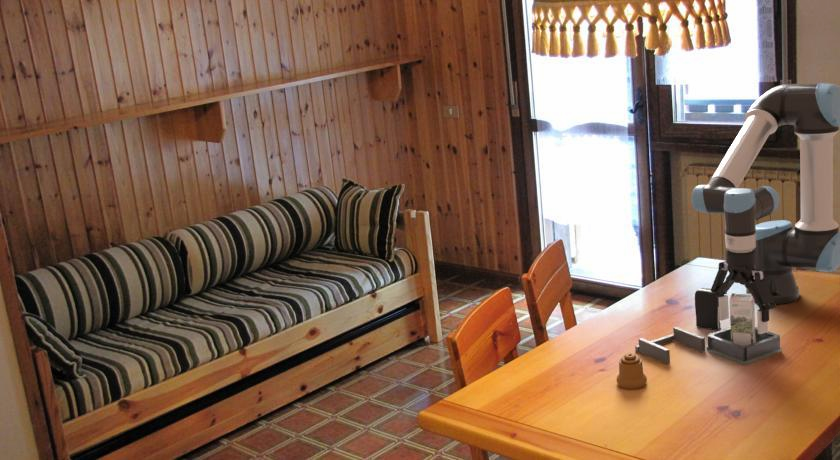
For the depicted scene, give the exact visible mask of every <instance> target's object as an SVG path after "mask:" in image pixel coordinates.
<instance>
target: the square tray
mask: <svg viewBox="0 0 840 460" xmlns="http://www.w3.org/2000/svg"><path fill="white" fill-rule="evenodd" d="M755 336H756V342H755V343H753V344H750V345H747V346H744V347H743V346H740V345H738V344H735V343H732V342H731V326H729V327H726V328H723V329H719V330H716V331H713V332H711V333H709V334H708V335H707V346H705V350H706V351H707V352H710V353H711V354H714V355H717V356H719V357H720V358H721V357H722V358H724V359H726V360H728V361H730V362H731V361H732V362H733V363H734V362H735V363H736V364H739V365H741V366H746V365H749V364H752V363H755V362H757V361H760V360H763V359H766V358H768V357H771V356H775V355H777V354H780V353H782V352H783V348H782V347H781V335H780V334H777V333H775V332H771V331H769V330H768V332H765V333H762V334H758V326H755Z"/></svg>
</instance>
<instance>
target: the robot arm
mask: <svg viewBox="0 0 840 460" xmlns="http://www.w3.org/2000/svg"><path fill="white" fill-rule="evenodd" d="M784 125H788V126H789V125H790V126H793V128H794V129H793V130H794V132H793V133H794V134H795V135H796V136H797V137H799V145H800V146H799V153H800V155H799V157H800V159H799V161H800V162H799V163H800V164H799V165H800V169H799V170H800V173H799V174H800V177H799V178H800V183H799V184H800V185H799V186H800V192H799V193H800V219H799V220H798V221H797V222H796V223H795V225H794V226H793V223H792V221H789V220H786V219H780V220H769V221H764V222H761V223H758V224H756V221H758V220H761V219H763V218H766V217H768V216H770V215H771V214H772V213H774V212H775V211H777V209H778V208H779V206H780V202H781V200H780V198H781V197H780V195H779V193H778V192H777V190H776V189H774V188H773V187H772V186H768V185H764V186H758V187H756V188H749V187H748V188H747V187H746V188H745V187H740V186H741V184H742V182H743V180H744V179H745V178H746V175H747V174H748V172H749V170H750V169H751V166H752V165H753V164H754V161H755V159H757V157H758V155H759V153H760V151H761V150H762V148H763V146H764V145H765V143H766V142H767V139H768V138H769V136H770V135H772V134H774V133H776V131H777V129H778V128H779V127H781V126H784ZM839 132H840V85H837V84H835V83H826V82H825V83H824V82H817V83H816V82H815V83H809V82H808V83H783V84H780V85H776V86H775V87H772V88H770V89H769V90H767V91H766V92H764V93H763V94H761V95H760V96H759V97H758V98H757V99H756V100H755V101H754V102H753V103H752V104H751V106H749V108H748V110H747V111H746V113H745V115H744V123H743V125H742V126H741V128H740V130H739V132H738V134H737V135H736V137H735V138H734V140H733V141H732V144H731V145H730V147H729V148H728V149H727V151H726V153H725V155H724V156H723V158H722V160H721V162H720V163H719V165H718V167H717V168H716V170H715V172H714V173H713V175H712V176H711V178H710V179H709V181H708V183H707V184H704V183H703V184H698V185H696V186H695V187H694V188H693V190H692V193H691V199H690V201H691V202H690V203H691V205H692V207H693V209H694V210H695V211H697V212H700V213H707V214H714V215H715V214H719V215H724V216H723V217H724V236H725V237H724V241H725V242H724V243H725V248H726V250H725V261H720V262H719V263H718V268H717V269H718V270H717V273H716V276H715V278H714V280H713V282H712V286H711V288H710V289H711V292H712V293H715V294H716V296H717V301H718V302H717V304H718V307H719V320H720V322H721V321H725V320H728V319H729V318H730V305H729V295H728V293H727V292H728V291H729V290H730V288H731V287H732V286H733V285H734V284H735V283H736V284H740V285H741V286H744V287H745V288H746V289H745V294H751V295H752V296H753V298H754V303H755V304H757V306H758V308H759V309H756V310H757V312H756V315H757V328H758V334H762V333H765V332H768V331H769V328H768V327H769V324H768V323H769V321H770V310H772V309H775V308H776V306H777V305H782V304H787V303H792V302H795V301H796V300H798V299H799V298H800V288H799V286H798V285H797V281H796V278H795V274H794V273H793V272H794V271H793V268H797V269H803V270H811V271H816V272H826V273H827V272H828V273H830V272H834V271H836V270H837V269H838V268H839V267H840V231H839V226H840V225H839V223H838V222H836V221H835V220H834V213H833V212H834V207H833V206H834V200H833V199H834V137H835V135H836V134H838V133H839ZM728 273H729V274H728Z"/></svg>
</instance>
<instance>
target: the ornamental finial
mask: <svg viewBox="0 0 840 460" xmlns="http://www.w3.org/2000/svg"><path fill="white" fill-rule="evenodd" d="M643 366H644V365H643V360H642V358H640V357H639V356H638V355H636V354H635V353H626V354H624V355H623V356H622V357H621V358H619V360H618V370H619V371H618V373H619V374H618V375H617V376H616V383H617V385H618V386H619V387H620V388H622V389H625V390H639V389H642V388H644V387H645V386H646V384H647V382H648V381H647V380H648V378H647V375H646V374H645V373H644V367H643Z"/></svg>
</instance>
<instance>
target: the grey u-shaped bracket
mask: <svg viewBox="0 0 840 460" xmlns="http://www.w3.org/2000/svg"><path fill="white" fill-rule="evenodd" d="M672 330H673V332H672V333H671V334H668V335H665V336H662V337H658V338H656V339H652V340H648V339H645V338H643V337H640V338H638V344H637V345H635V347H634V348H635V352H637V353H639V354H641V355H643V356H645V357H648V358H650V359H652V360H655V361H657V362H660V363H662V364H664V365H669V364H671V355H670V353H671V352H670V349H669V348H667V347H664V346H662V345H665V344H668V343H671V342H675V343H677V344H679V345H682V346H685V347H687V348H690V349H692V350H694V351H697V352H700V353H705V352H706V337H704V336H702V335H700V334H697V333H694V332H691V331H688V330H687V329H683V328H681V327H678V326H674V327H673V328H672Z"/></svg>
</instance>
